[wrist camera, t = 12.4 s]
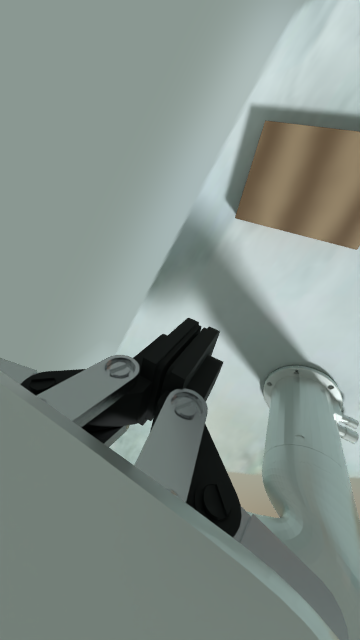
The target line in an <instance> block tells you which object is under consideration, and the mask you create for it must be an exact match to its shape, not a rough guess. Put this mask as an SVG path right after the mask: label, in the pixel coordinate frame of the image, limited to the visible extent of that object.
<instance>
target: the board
mask: <svg viewBox="0 0 360 640" xmlns="http://www.w3.org/2000/svg"><path fill="white" fill-rule="evenodd" d="M235 218H236V219H240V220H244V221H248V222H252V223H256V224H260V225H263V226H267V227H271V228H275V229H279V230H283V231H287V232H290V233H294V234H298V235H302V236H306V237H310V238H313V239H317V240H321V241H325V242H329V243H333V244H337V245H340V246H344V247H348V248H352V249H356V250H357V249H358V247H359V246H360V132H358V131H350V130H341V129H332V128H324V127H315V126H307V125H298V124H289V123H281V122H272V121H265V123H264V126H263V130H262V133H261V136H260V139H259V142H258V146H257V149H256V152H255V155H254V159H253V162H252V165H251V168H250V171H249V175H248V178H247V181H246V184H245V187H244V191H243V194H242V197H241V200H240V203H239V207H238V210H237V213H236V216H235Z"/></svg>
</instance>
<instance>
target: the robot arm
mask: <svg viewBox="0 0 360 640" xmlns="http://www.w3.org/2000/svg"><path fill="white" fill-rule="evenodd" d="M200 331H201V332H200ZM219 333H220V331H218V330H216V329H214V328H211V327H208V328H207V329H206V328H203V329H202V330H201V326H199V322H197V321H195V320H193V319H190V318H187V319H186V320H185V321H184V322H183V323H182V324H180V325H179V326H178V327H177V328H176V329H175V330H174V331H172V332H171V333H170V334H169V335H168V336H167V335H165V334H162V335H161V336H159V337H158V338H157V339H156V340H154V341H153V342H152V343H151V344H150V345H148V346H147V347H146V348H145V349H144V350H142V351H141V352H140V353H139V354H138V355H136V356H135V357H134V358H131V357H129V356H125V355H115V356H111V357H108V358H106V359H104V360H102V361H101V362H99V363H97V364H95V365H93V366H91V367H89V368H87V369H81V370H64V371H48V372H41V373H37V370H34V369H31V368H28V367H25V366H22V365H19V364H16V363H13V362H10V361H7V360H5V359H2V358H0V640H360V520H359V517H358V513H357V509H356V505H355V501H354V497H353V492H352V489H351V484H350V479H349V475H348V470H347V466H346V462H345V457H344V453H343V448H342V444H341V439H340V437H341V438H343V439H345V440H347V441H349V442H351V443H353V444H355V443H356V442H357V440H358V433H357V432H355V431H353V430H351V429H349V428H347V427H343V426H341V425H339V424H338V422H342V423H345V424H346V425H348V426H350V427H352V428H354V429H356V428H357V427H358V424H359V423H358V421H357V420H355V419H353V418H351V417H348V416H345V415H343V413H342V412H341V410H342V406H343V399H342V395H341V392H340V390H339V388H338V386H337V385H336V383H335V382H334V381H333V380H332V379H331V378H330V377H329V376H327V375H326V374H324V373H322V372H321V371H318V370H316V369H313V368H310V367H306V366H287V367H282V368H280V369H277V370H276V371H274V372H272V373H271V374H270V375H269V376H268V377H267V379H266V381H265V383H264V388H263V396H264V399H265V402H266V403H267V405H268V407H269V408H270V410H269V418H268V426H267V434H266V442H265V450H264V458H263V466H262V477H263V483H264V487H265V490H266V493H267V495H268V497H269V499H270V501H271V503H272V505H273V507H274V508H275V510H276V512H277V513H278V515H279V517H280V518H273V517H269V516H262V515H257V514H254V513H250V512H246V511H245V510H244V509H243V508H242V507H241V505H240V502H239V499H238V496H237V494H236V492H235V489H234V487H233V485H232V483H231V480H230V478H229V476H228V474H227V471H226V469H225V467H224V465H223V462H222V460H221V458H220V456H219V453H218V451H217V449H216V447H215V445H214V442H213V440H212V438H211V436H210V433H209V431H208V429H207V427H206V425H205V421H206V417H207V409H208V408H207V404H206V400H207V398H208V396H209V394H210V392H211V390H212V388H213V386H214V384H215V381H216V379H217V377H218V374H219V372H220V369H221V367H222V364H223V362H222V361H220V360H218V359H216V358H214V357H212V356H211V355H212V352H213V349H214V347H215V344H216V341H217V338H218V336H219ZM153 418H154V419H153ZM147 419H148V420H150V421H151V420H152V419H153V423H152V427H151V431H150V434H149V436H148V438H147V440H146V442H145V444H144V446H143V448H142V451H141V453H140V455H139V457H138V459H137V461H136V463H135V465H132V464H131V463H130V462H128V461H127V460H126V459H124V458H123V457H121V456H120V455H119V454H117V453H116V452H114V451H113V450H112V449H110V448H109V447H110V446H111V445H112V444H113V443H114V442H115V441H116V440H117V439H118V438H119V437H120V436H122V435H123V434H124V433H125V432H126V431H127V429H128V428H129V426H130V425H132V424H137V423H139V424H141V425H142V426H143V425H144V423H145V422H146V421H147Z"/></svg>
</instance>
